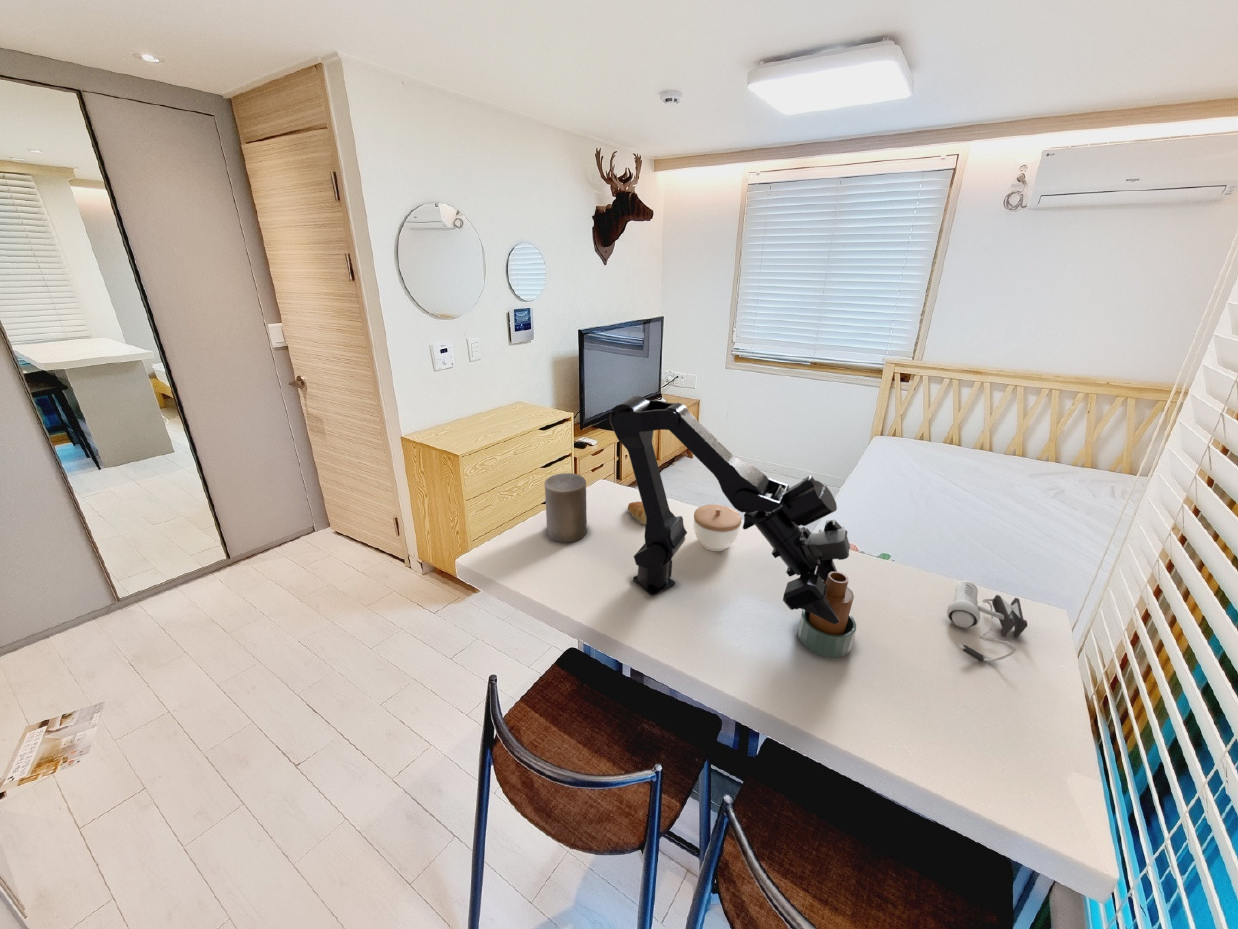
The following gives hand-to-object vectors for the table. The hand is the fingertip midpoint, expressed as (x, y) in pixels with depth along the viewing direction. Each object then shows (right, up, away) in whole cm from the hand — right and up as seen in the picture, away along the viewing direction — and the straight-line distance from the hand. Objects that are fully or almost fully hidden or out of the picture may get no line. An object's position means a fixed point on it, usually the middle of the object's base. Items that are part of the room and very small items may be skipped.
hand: (839, 606), depth 87 cm
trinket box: (-16, +6, +31) cm, 35 cm away
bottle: (-1, -6, +4) cm, 7 cm away
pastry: (-32, +11, +42) cm, 54 cm away
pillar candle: (-51, +8, +35) cm, 62 cm away
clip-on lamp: (+28, -7, +6) cm, 30 cm away
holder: (-1, -7, +4) cm, 8 cm away
